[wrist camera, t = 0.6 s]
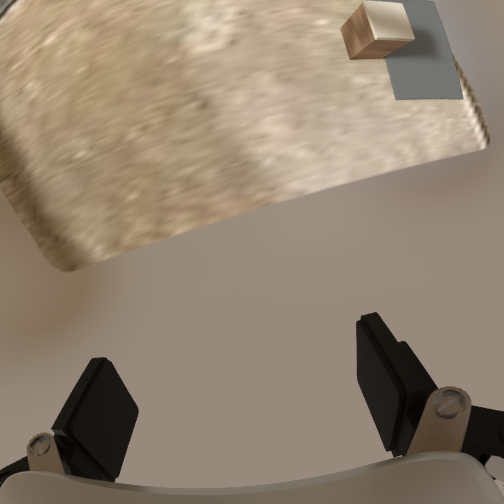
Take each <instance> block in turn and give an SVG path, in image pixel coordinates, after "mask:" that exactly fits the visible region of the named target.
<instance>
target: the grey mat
mask: <svg viewBox="0 0 504 504" xmlns="http://www.w3.org/2000/svg"><path fill="white" fill-rule="evenodd" d="M366 1H382V2H394V3H402V4H403V7H404V9H405V12H406V15H407V17H408V20H409V23H410V26H411V28H412V31H413V34H414V37H415V40H413V41H411V42H409V43H408V44H406V45H404V46H402V47H400V48H399V49H397V50H395V51H394V52H392V53H390V54H388V55H387V56H385V60H386V63H387V67H388V71H389V75H390V79H391V83H392V87H393V91H394V95H395V100H408V99H463V95H462V90H461V86H460V82H459V78H458V74H457V70H456V66H455V62H454V59H453V55H452V52H451V49H450V45H449V42H448V39H447V36H446V33H445V30H444V27H443V25H442V22H441V19H440V17H439V14H438V11H437V9H436V6H435V4H434V2H433V1H428V0H366Z"/></svg>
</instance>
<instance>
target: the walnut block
mask: <svg viewBox="0 0 504 504" xmlns="http://www.w3.org/2000/svg"><path fill="white" fill-rule="evenodd" d="M341 32H342V35H343V39H344V42H345V45H346V49H347V52H348V55H349V59H350V60H354V59H382V58H383V57H385V56H387V55H388V54H390V53H392V52H394V51H395V50H397V49H399V48H400V47H402V46H404V45H406V44H408V43H409V42H411V41H413V40H415V37H414V34H413V31H412V28H411V26H410V23H409V20H408V17H407V15H406V12H405V9H404V7H403V4H402V3H394V2H382V1H366V0H365V1H364V2H363V3H362V4H361V5H360V7H359V8H358V9H357V10H356V11H355V12H354V13H353V15H352V16H351V17H350V18H349V19H348V20H347V22H346V23H345V24H344V25H343V26H342V28H341Z"/></svg>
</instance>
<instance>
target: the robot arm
mask: <svg viewBox="0 0 504 504" xmlns="http://www.w3.org/2000/svg"><path fill="white" fill-rule="evenodd" d="M356 337H357V380H358V384H359V386H360V388H361V391H362V393H363V396H364V398H365V400H366V403H367V405H368V408H369V410H370V413H371V415H372V417H373V420H374V422H375V425H376V427H377V430H378V432H379V435H380V437H381V440H382V442H383V445H384V448H385V450H386V451H387V452H388V451H391V452H392V454H393V457H397V456H400V455H402V457H397V458H392V459H389V460H385V461H381V462H377V463H373V464H369V465H365V466H362V467H358V468H354V469H349V470H346V471H341V472H337V473H332V474H327V475H322V476H317V477H312V478H306V479H301V480H295V481H288V482H281V483H274V484H265V485H256V486H245V487H229V488H165V487H149V486H138V485H129V484H121V483H114V482H115V479H116V478H118V476H119V474H120V471H121V467H122V464H123V461H124V457H125V454H126V451H127V448H128V445H129V442H130V439H131V435H132V432H133V429H134V426H135V423H136V420H137V417H138V412H139V411H138V407H137V405H136V403H135V402H134V400H133V398H132V397H131V395H130V393H129V392H128V390H127V388H126V387H125V385H124V383H123V382H122V380H121V378H120V376H119V375H118V373H117V371H116V369H115V367H114V365H113V364H112V362H111V361H108V359H107V358H105V357H100V358H92V359H91V360H90V362H89V364H88V365H87V367H86V369H85V371H84V372H83V373H82V375H81V377H80V379H79V380H78V382H77V384H76V385H75V387H74V389H73V390H72V392H71V394H70V396H69V397H68V399H67V401H66V403H65V404H64V406H63V408H62V410H61V412H60V413H59V415H58V417H57V419H56V421H55V423H54V425H53V426H52V428H51V429H52V430H53V432H54V433H55V435H54V436H52V435H51V434H50V433H40V434H37V435H36V436H34V437H33V438H32V439H31V440H30V441H29V443H28V445H27V456H26V457H24V458H22V459H20V460H18V461H16V462H15V463H12V464H10V465H9V466H6V467H5V468H3V469H1V470H0V504H504V497H503V495H502V493H501V491H500V490H499V488H498V486H497V485H496V483H495V481H494V480H495V479H498V480H500V481H502V482H504V411H498V410H493V409H487V408H483V407H478V406H473V405H471V399H470V396H469V395H468V394H467V393H466V392H465V391H463V390H462V389H460V388H457V387H451V386H450V387H449V386H447V387H442V388H440V389H438V387H437V386H436V384H435V383H434V381H433V380H432V379H431V377H430V375H429V374H428V372H427V371H426V370H425V368H424V367H423V365H422V364H421V362H420V361H419V360H418V358H417V357H416V355H415V354H414V352H413V351H412V349H411V348H410V347H409V345H408V344H407V343H406V342H405V341H401V342H398V341H397V340H396V339H395V337H394V336H393V334H392V333H391V331H390V330H389V328H388V327H387V326H386V324H385V323H384V321H383V320H382V319H381V317H380V316H379V314H378V313H377V312H374V313H370V314H367V315H362V316H361V320H359V321H357V322H356Z"/></svg>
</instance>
